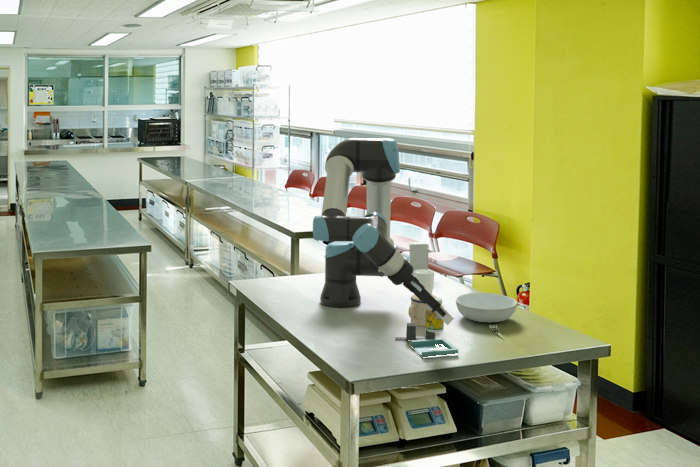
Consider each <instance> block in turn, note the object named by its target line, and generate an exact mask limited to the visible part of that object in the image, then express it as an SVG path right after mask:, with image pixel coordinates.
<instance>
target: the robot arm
mask: <svg viewBox="0 0 700 467" xmlns="http://www.w3.org/2000/svg"><path fill="white" fill-rule="evenodd" d="M400 164H401V162H400V154H399V146H398V142H397V140H395V139H394V138H385V137H382V138H378V137H377V138H374V137H373V138H370V137H366V138H365V137H364V138H363V137H359V138H358V137H350V138H346V139H344V140H342V141H341V142H338V144H336V145H335V146H334V147H333V148H332V150H330V152H329V153H328V155H327V157H326V159H325V164H324V170H325V173H326V180H325V185H324V193H323V201H322V206H321V207H322V208H321V209H322V210H321V214H320V215H315V216H314V217H313V220H312V236H313V239H314V240H315V241H319V242H320V241H321V242H322V241H323V242H329V243H328V244H326V247H325V255H324V259H325V261H324V262H325V263H324V264H325V265H324V266H325V267H324V268H325V269H324V270H325V272H324V274H325V276H324V280H325V281H324V285H323V288H322V291H321V293H320V301H321V302H320V304H321V303H322V304H321V305H323V304H324V305H323V306H326V305H327V307H330V306H331V307H332V308H349V307H350V308H351V307H352V308H353V307H355V306H356V307H357V306H359V305H360V304H361V302H362V300H361V299H362V298H361V293H360V290H359V286H358V283H357V276H358V277H359V276H361V277H362V276H363V277H364V276H365V277H381V278H383V277H387V278H388V280H389V281H390V282H391V283H392V284H394V285H395V286H400V285H403V287H404V288H406V289H407V290H408V291H409V292H411V293H413V295H414V294H415V295H416V296H417V297H418V298H419V300H420V301H422V302H423V303H424V304H426V303H427V304H426V306H428V305H429V306H430V307H431V308H432V311H431V312H432V313H433V312H435V313H436V314H437V315H438V316H439V317H440V318H441V319H442V320H443V321H444V324H446V325H447V326H449V324H451V322H453V320H455V318H454V317H453V316H452V315H451V314H450V313H449V312H448V311H447V310H446V309H445V308H443V307H444V306H443V305H442V304H440V303H439V302H438V301H437V300H436V299H435V298H434V297H433V296H432V295H433V294H432V295H431V294H430V293H429V292H428V291H427V290H426V289H425V288H424V286H423V285H422V284H421V283H420V282H419V280H418V279H417V278H416V277H414V276H413V275H411V274H412V272H413V266H412V265H411V264H410V261H409V260H407V259H406V258H405V257H404V255H403V254H401V252H400V251H399V250H398V248H399V247H398V245H396V244H395V241H394V240H393V238H391V211H392V210H391V208H392V206H391V205H392V203H391V202H392V201H391V200H392V181H394V180H395V179H396V174H399V173H401V165H400ZM353 173H361V175H362V176H361V177H362V178H363V180H364V181H366V214H365V215H364V216H347V211H348V210H347V209H348V199H349V188H350V177H351V176H352V175H353ZM441 305H442V306H443V307H442V306H441Z"/></svg>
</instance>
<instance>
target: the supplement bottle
mask: <svg viewBox="0 0 700 467" xmlns="http://www.w3.org/2000/svg"><path fill="white" fill-rule="evenodd" d="M434 298H435V297H434ZM435 299H436V300H437V301H438V302H439V303H440V304H441V306H442V307H443V308H444V306H443V305H442V304H443V299H442V297H441V298H440V297H437V298H435ZM444 309H445V308H444ZM431 311H432V308H431V307H430V306H429V305H428V306H427V307H426V326H425V331H426V330H427V331H429V332H435V333H441V332H443V331H444V326H445V322H444V321H443V320H442V319H441V318H440V317H439V316H438V315H437V314H436V313H435V312H433V313H432V312H431Z"/></svg>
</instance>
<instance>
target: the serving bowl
mask: <svg viewBox="0 0 700 467" xmlns="http://www.w3.org/2000/svg"><path fill="white" fill-rule="evenodd" d="M455 303H456V308H457V310H458V311H459V314H461V315H462V316H463V317H464V318H466V319H468V320H471V321H474V322H477V321H478V323H482V322H488V323H487V324H492V323H491V322H494V323H499V322H504V321H506V320H509V319H510V318H511V317H512V316H513V315H514V313H515V312H516V310H517V305H518V302H517V300H516V299H515V298H513V297H510V296H507V295H503V294H499V293H492V292H491V293H489V292H472V293H471V292H470V293H464V294H461V295H459V296H456V299H455Z"/></svg>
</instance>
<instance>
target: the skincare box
mask: <svg viewBox="0 0 700 467" xmlns="http://www.w3.org/2000/svg"><path fill="white" fill-rule="evenodd" d="M409 263H410V264H411V265H412V266H413V272H412V274H411V275H413V276H414V271H415V270H419V269H426V270H429V242H428V241H409Z"/></svg>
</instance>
